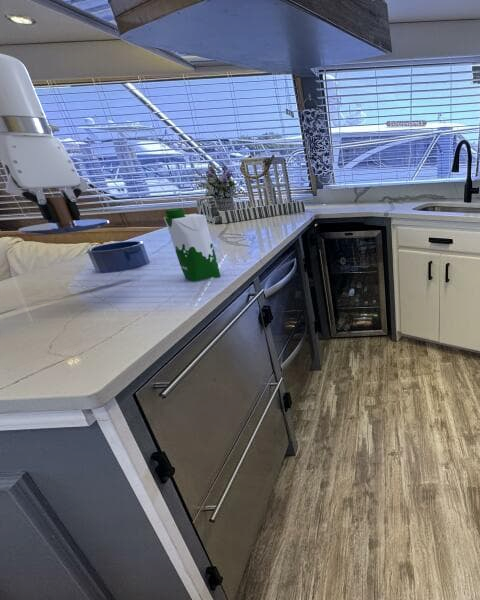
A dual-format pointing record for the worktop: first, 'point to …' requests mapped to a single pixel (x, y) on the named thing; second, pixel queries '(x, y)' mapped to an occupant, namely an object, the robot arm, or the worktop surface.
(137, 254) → the pot
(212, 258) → the milk carton
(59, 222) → the plate lid
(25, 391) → the worktop surface
